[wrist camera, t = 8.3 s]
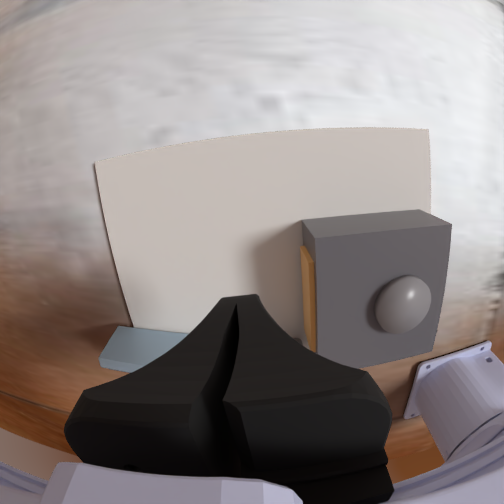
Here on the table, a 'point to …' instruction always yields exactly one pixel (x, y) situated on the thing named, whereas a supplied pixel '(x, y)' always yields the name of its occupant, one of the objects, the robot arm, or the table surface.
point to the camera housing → (373, 285)
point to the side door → (138, 348)
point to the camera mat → (246, 214)
